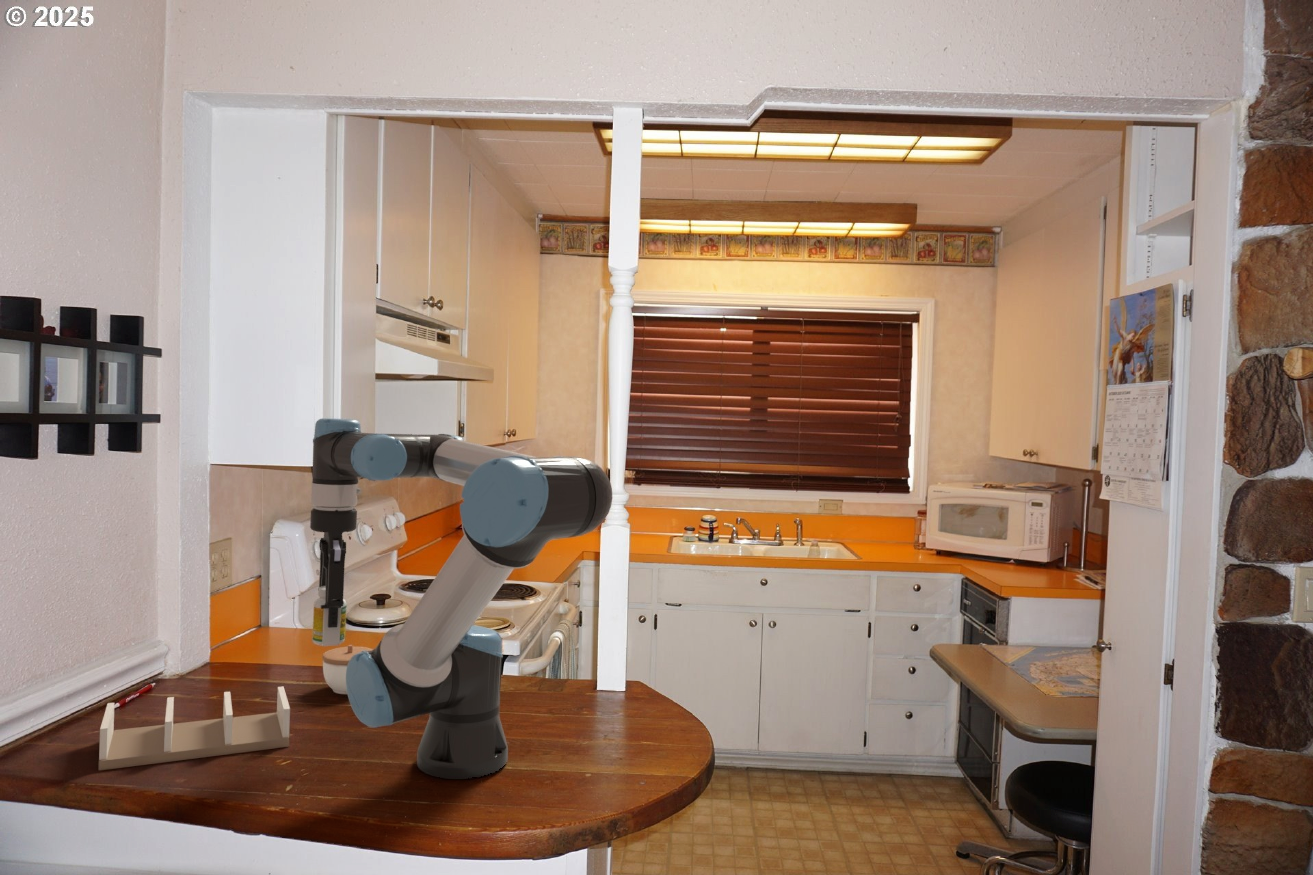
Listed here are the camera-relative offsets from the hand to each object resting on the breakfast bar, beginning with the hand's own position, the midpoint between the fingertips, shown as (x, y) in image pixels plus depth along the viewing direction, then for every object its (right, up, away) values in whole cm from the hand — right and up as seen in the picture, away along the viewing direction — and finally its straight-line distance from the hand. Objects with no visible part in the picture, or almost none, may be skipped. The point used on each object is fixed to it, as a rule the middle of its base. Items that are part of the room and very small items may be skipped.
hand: (328, 640), depth 151 cm
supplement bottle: (0, -1, 0) cm, 0 cm away
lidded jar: (-8, -18, +31) cm, 37 cm away
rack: (-23, -18, 0) cm, 29 cm away
